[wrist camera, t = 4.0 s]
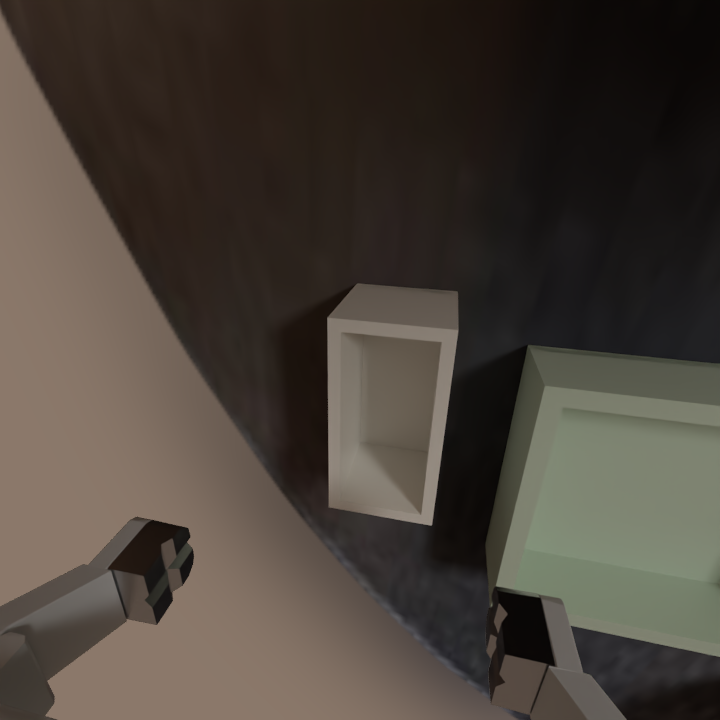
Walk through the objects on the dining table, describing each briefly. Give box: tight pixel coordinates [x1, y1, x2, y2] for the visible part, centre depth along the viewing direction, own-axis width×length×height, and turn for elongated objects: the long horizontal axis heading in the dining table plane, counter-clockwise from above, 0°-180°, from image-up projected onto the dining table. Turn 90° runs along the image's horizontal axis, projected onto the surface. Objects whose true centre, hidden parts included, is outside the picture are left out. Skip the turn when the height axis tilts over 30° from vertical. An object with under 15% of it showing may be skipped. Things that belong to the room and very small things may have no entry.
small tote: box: [327, 283, 458, 526], centre depth 19 cm, size 5×9×5 cm, turn 178°
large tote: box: [485, 345, 720, 657], centre depth 18 cm, size 15×13×4 cm
